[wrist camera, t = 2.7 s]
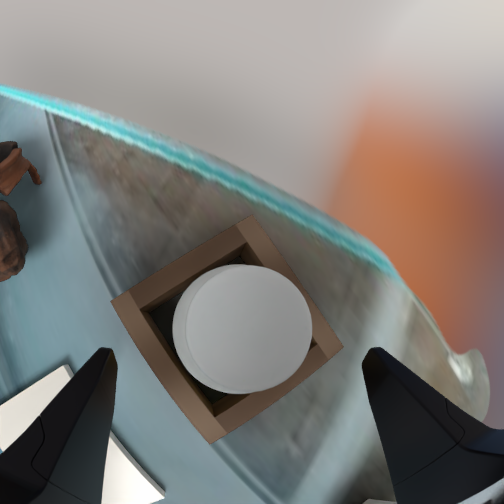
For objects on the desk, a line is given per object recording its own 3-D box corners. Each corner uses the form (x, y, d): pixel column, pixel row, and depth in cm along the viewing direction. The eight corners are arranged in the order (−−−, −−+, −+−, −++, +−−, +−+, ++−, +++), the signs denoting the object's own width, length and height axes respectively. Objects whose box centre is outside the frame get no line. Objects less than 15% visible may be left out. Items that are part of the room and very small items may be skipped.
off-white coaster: (165, 492, 13) (164, 497, 13) (69, 524, 10) (66, 528, 9) (68, 364, 15) (63, 365, 14) (-12, 415, 12) (-18, 417, 11)
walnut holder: (323, 345, 18) (343, 346, 15) (207, 427, 15) (209, 444, 13) (244, 231, 19) (252, 214, 17) (124, 306, 17) (110, 301, 14)
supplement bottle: (271, 294, 19) (338, 257, 10) (262, 375, 17) (325, 414, 8) (188, 282, 18) (178, 230, 9) (177, 365, 16) (154, 401, 7)
